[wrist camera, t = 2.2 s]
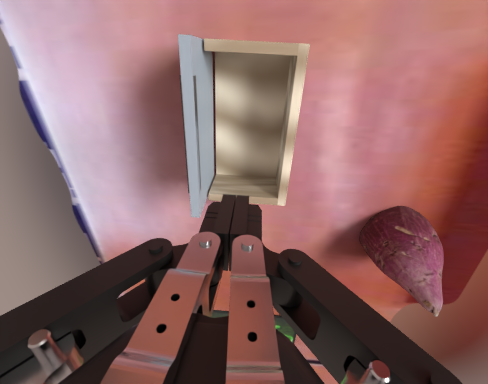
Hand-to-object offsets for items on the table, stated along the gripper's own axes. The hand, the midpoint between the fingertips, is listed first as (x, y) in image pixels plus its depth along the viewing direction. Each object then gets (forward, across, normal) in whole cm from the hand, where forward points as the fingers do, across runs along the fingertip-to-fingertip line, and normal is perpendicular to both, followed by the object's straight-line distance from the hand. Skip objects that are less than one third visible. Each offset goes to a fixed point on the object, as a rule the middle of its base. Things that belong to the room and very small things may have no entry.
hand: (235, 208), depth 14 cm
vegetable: (+22, -25, +17) cm, 38 cm away
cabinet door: (+21, +5, 0) cm, 22 cm away
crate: (+22, 0, 0) cm, 22 cm away
